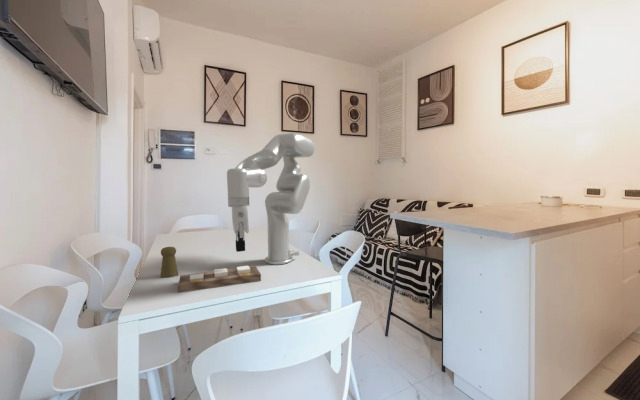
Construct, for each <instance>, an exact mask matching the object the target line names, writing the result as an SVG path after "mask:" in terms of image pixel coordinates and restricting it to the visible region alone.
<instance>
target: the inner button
mask: <svg viewBox="0 0 640 400" xmlns="http://www.w3.org/2000/svg"><path fill="white" fill-rule="evenodd" d="M250 267H251V266H249V265H242V266H237V267H236V269H237V275H240V274H248V273H250Z"/></svg>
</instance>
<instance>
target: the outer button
mask: <svg viewBox="0 0 640 400" xmlns="http://www.w3.org/2000/svg"><path fill="white" fill-rule="evenodd" d="M201 273H202V274H196V273H193V274H194V275H190V281H194V280H201V279H204V272H201Z"/></svg>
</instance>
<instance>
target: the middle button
mask: <svg viewBox="0 0 640 400" xmlns="http://www.w3.org/2000/svg"><path fill="white" fill-rule="evenodd" d="M227 270H228V268H227V267H226V268H215V269H214V270H213V271H214V278H217V277H225V276H228V271H227Z"/></svg>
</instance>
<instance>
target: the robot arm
mask: <svg viewBox="0 0 640 400" xmlns="http://www.w3.org/2000/svg"><path fill="white" fill-rule="evenodd" d="M314 153H315V144H314V142H313V141H312V140H311V139H310V138H308V137H306V136H304V135H302V134H299V133H295V132H294V133H293V132H292V133H290V132H289V133H280V134H276V135H274V136H273V137H272V138H271V139H270V140H269V142H268V143H267V144H266V145H265V146H264V147H263V148H262V149H261V150H260V151H257V152H256V153H253V154H252V155H250V156H248V157H246V158H245V159H243V160H242V161H240V162H239V163H238V164H237V165H236V166H235V167H234V168H229V169H227V170H226V182H227V184H226V185H227V206H228V207H229V208H231V221H232V228H233V232H234V234H235V252H237V253H238V252H246V240H245V234H249V232H250V229H249V214H248V207H249V206H250V188H253V189H254V188H262V187H263V186H264V185H266V183H267V180H268V176H267V173H266V171H265V170H268V169H270V168H272V167H274V166H276V165H277V164H278V163H279V162H280V160H281V159H282V160H283V168H282V170H281V172H280V174H279V176H278V178H277V182H276V186H275V187H276V191H274V192H270V193H269V194H268V195H267V196H266V197H265V200H264V206H265V211H266V217H267V256H266V257H264V262H265V263H266V264H269V265H284V264H285V265H286V264H289V263H291V262H292V261H293V256H300V252H299V251H297V250H290V246H289V245H290V244H289V243H290V240H289V239H290V237H289V236H290V235H289V234H290V230H289V229H290V225H289V224H290V222H289V219H288V217H287V216H286V214H289V215H296V214H299V213H301V211H302V210H303V207H304V205H305V203H306V200H307V197H308V194H309V191H310V188H311V183H310V182H311V180H310V178H309V176H308V175H307V174H305V173H301V167H300V164H299V162H298V161H297V159H298V158H310V157H312V156H313V155H314Z"/></svg>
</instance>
